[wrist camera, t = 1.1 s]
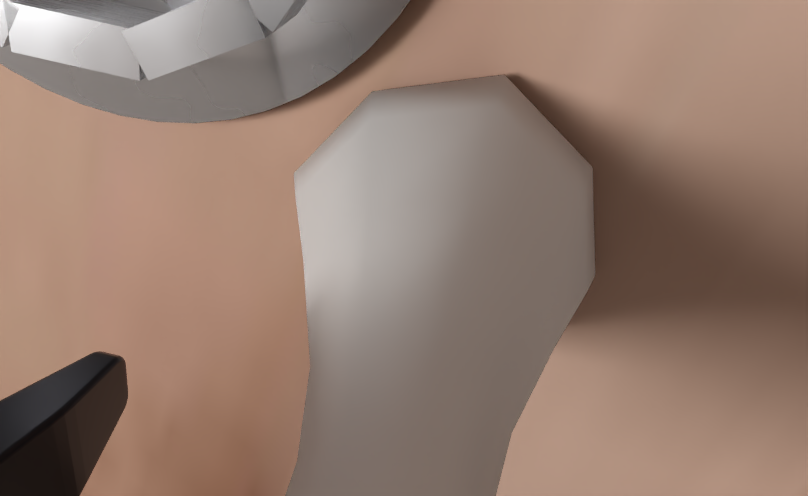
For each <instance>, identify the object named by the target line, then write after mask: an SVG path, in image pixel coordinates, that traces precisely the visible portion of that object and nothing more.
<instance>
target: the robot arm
mask: <svg viewBox="0 0 808 496" xmlns="http://www.w3.org/2000/svg"><path fill="white" fill-rule="evenodd" d="M127 399H128V386H127V374H126V364H125V360H124V359H123V358H122V357H121V356H118V355H114V354H110V353H105V352H94V353H92V354H90V355H88V356H86V357H84V358H82V359H80V360H78V361H76V362H74V363H72V364H70V365H68V366H66V367H65V368H63V369H61V370H59V371H57V372H55V373H53V374H51V375H49V376H47V377H45V378H43V379H41V380H39V381H37V382H36V383H34V384H32V385H30V386H28V387H26V388H24V389H22V390H20V391H18V392H16V393H14V394H12V395H10V396H8V397H7V398H5V399H3V400H1V401H0V496H79V495H80V494H81V492H82V490H83V488H84V486H85V484H86V483H87V481H88V479H89V477H90V475H91V473H92V471H93V469H94V467H95V465H96V463H97V461H98V459H99V457H100V455H101V453H102V451H103V450H104V448H105V446H106V444H107V442H108V440H109V438H110V436H111V434H112V432H113V430H114V428H115V426H116V424H117V422H118V420H119V418H120V416H121V414H122V412H123V411H124V408H125V406H126V403H127Z"/></svg>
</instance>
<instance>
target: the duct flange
mask: <svg viewBox="0 0 808 496" xmlns="http://www.w3.org/2000/svg"><path fill="white" fill-rule="evenodd" d="M409 1H410V0H0V63H1V64H2V65H4V66H5V67H6V68H8V69H10V70H12V71H13V72H15V73H17V74H19V75H21V76H23V77H24V78H26V79H28V80H30V81H32V82H34V83H35V84H37V85H39V86H41V87H43V88H45V89H47V90H49V91H52V92H54V93H56V94H59V95H61V96H64V97H66V98H68V99H71V100H73V101H76V102H78V103H80V104H83V105H86V106H89V107H93V108H96V109H100V110H103V111H107V112H110V113H113V114H117V115H120V116H126V117H132V118H138V119H144V120H150V121H156V122H178V123H201V122H211V121H221V120H231V119H235V118H239V117H243V116H247V115H251V114H255V113H259V112H263V111H267V110H270V109H272V108H275V107H277V106H280V105H282V104H284V103H287V102H289V101H292V100H294V99H297V98H299V97H302V96H303V95H305V94H307V93H308V92H310V91H312V90H313V89H315V88H317V87H318V86H320V85H322V84H324V83H325V82H327V81H329V80H330V79H332V78H334V77H335V76H337V75H338V74H339V73H340V72H341V71H343V70H344V69H345V68H346V67H348V66H349V65H350V64H351V63H353V62H354V61H355V60H356V59H358V58H359V57H360V56H361V55H362V54H364V53H365V52H366V51H367V50H368V49H369V48H370V47H371V46H372V45H373V44H374V43H375V42H376V41H377V40H378V39H379V38H380V36H381V35H382V34H383V33H384V32H385V31H386V30H387V29H388V28H389V27H390V26H391V25H392V24H393V22H394V21H395V20H396V19H397V18H398V17H399V15H400V14H401V13H402V11H403V10H404V8H405V7H406V6H407V4H408V3H409Z"/></svg>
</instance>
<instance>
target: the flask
mask: <svg viewBox="0 0 808 496" xmlns="http://www.w3.org/2000/svg"><path fill="white" fill-rule="evenodd" d="M294 182H295V196H296V204H297V213H298V221H299V229H300V237H301V245H302V253H303V261H304V276H305V292H306V307H307V323H308V339H309V355H310V372H309V379H308V386H307V393H306V401H305V408H304V415H303V422H302V429H301V437H300V444H299V451H298V458H297V463H296V466H295V469H294V472H293V475H292V477H291V480H290V483H289V486H288V489H287V492H286V495H285V496H496V492H497V489H498V485H499V481H500V477H501V473H502V469H503V465H504V461H505V457H506V453H507V449H508V445H509V441H510V437H511V433H512V431H513V429H514V427H515V425H516V423H517V421H518V419H519V417H520V415H521V413H522V411H523V409H524V407H525V405H526V403H527V401H528V399H529V397H530V395H531V393H532V391H533V389H534V387H535V385H536V383H537V381H538V379H539V377H540V375H541V373H542V371H543V369H544V367H545V365H546V363H547V361H548V359H549V357H550V355H551V353H552V351H553V349H554V347H555V346H556V344H557V342H558V341H559V339H560V337H561V335H562V334H563V332H564V330H565V329H566V327H567V325H568V324H569V322H570V320H571V318H572V317H573V315H574V313H575V312H576V310H577V308H578V307H579V305H580V303H581V301H582V300H583V298H584V296H585V295H586V293H587V291H588V289H589V287H590V285H591V283H592V281H593V279H594V277H595V242H594V201H593V167H592V166H591V165H590V164H589V163H588V162H587V161H586V160H585V159H584V158H583V157H582V156H581V155H580V154H579V152H578V151H577V150H576V149H575V148H574V147H573V146H572V145H571V144H570V143H569V142H568V141H567V140H566V139H565V138H564V137H563V136H562V135H561V134H560V132H559V131H558V130H557V129H556V128H555V127H554V126H553V125H552V124H551V123H550V122H549V121H548V120H547V119H546V118H545V117H544V116H543V115H542V114H541V112H540V111H539V110H538V109H537V108H536V107H535V106H534V105H533V104H532V103H531V102H530V101H529V100H528V99H527V98H526V97H525V96H524V95H523V94H522V93H521V91H520V90H519V89H518V88H517V87H516V86H515V85H514V84H513V83H512V82H511V81H510V80H509V79H508V78H507V77H506V76H505V75H498V76H490V77H482V78H474V79H466V80H458V81H450V82H442V83H435V84H427V85H419V86H411V87H403V88H395V89H387V90H379V91H372V92H371V93H370V94H369V95H368V96H367V97H366V98H365V99H364V100H363V101H362V102H361V104H360V105H359V106H358V107H357V108H356V109H355V110H354V111H353V112H352V113H351V114H350V115H349V116H348V117H347V118H346V119H345V120H344V121H343V122H342V123H341V124H340V125H339V127H338V128H337V129H336V130H335V131H334V132H333V133H332V134H331V135H330V136H329V137H328V138H327V139H326V140H325V141H324V142H323V143H322V144H321V145H320V146H319V147H318V148H317V150H316V151H315V152H314V153H313V154H312V155H311V156H310V157H309V158H308V159H307V160H306V161H305V162H304V163H303V164H302V165H301V166H300V167H299V168H298V169H297V170H296V171H295V173H294Z"/></svg>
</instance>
